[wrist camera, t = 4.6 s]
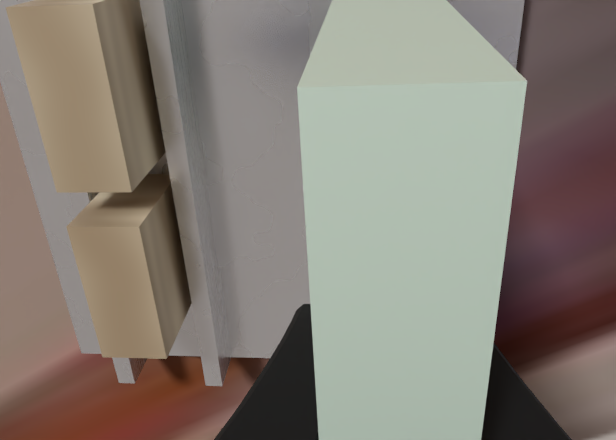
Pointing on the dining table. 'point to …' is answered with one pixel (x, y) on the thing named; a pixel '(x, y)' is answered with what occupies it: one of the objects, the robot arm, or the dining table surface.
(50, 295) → the dining table surface
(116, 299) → the oak offcut
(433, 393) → the sage panel
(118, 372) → the slot rack
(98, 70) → the oak offcut
